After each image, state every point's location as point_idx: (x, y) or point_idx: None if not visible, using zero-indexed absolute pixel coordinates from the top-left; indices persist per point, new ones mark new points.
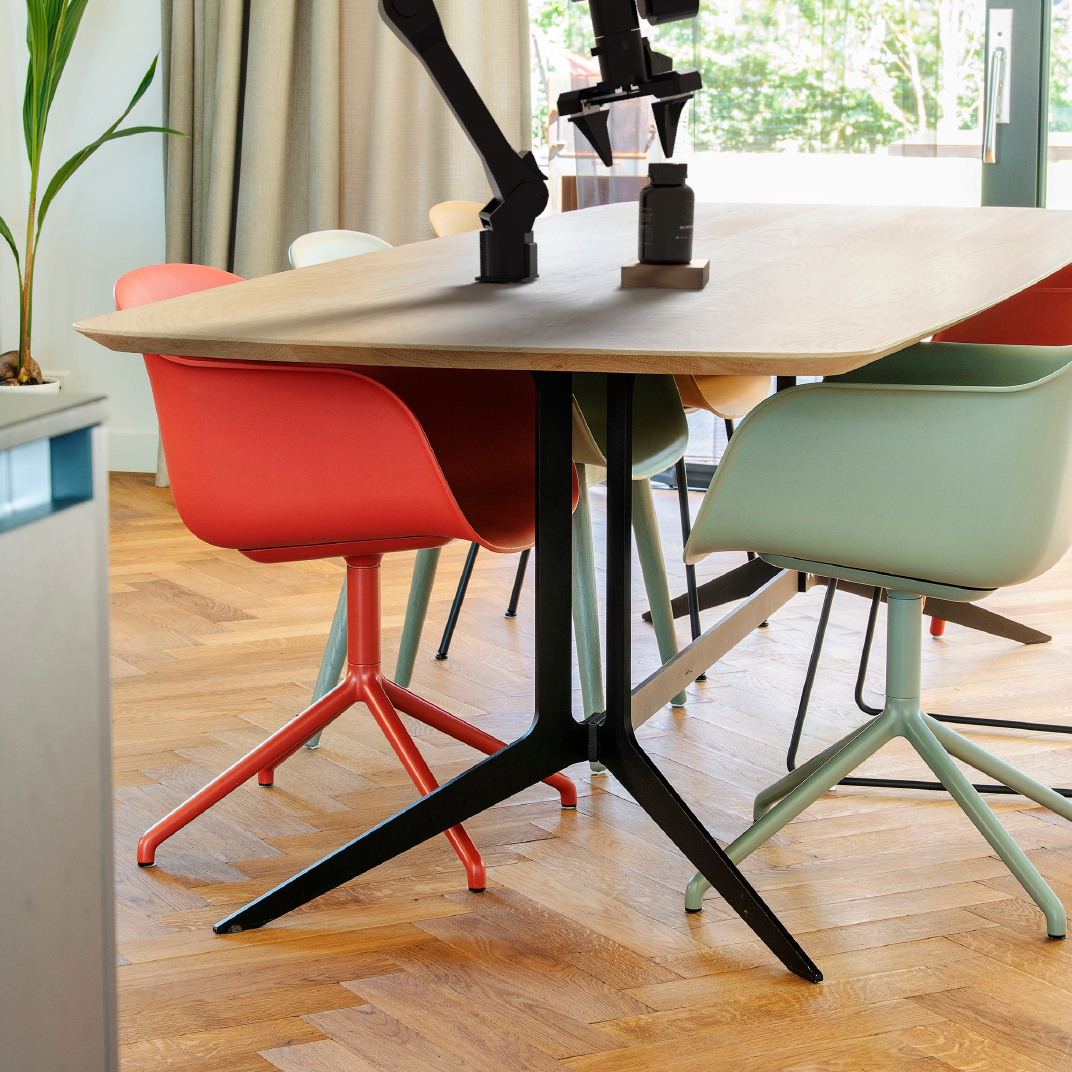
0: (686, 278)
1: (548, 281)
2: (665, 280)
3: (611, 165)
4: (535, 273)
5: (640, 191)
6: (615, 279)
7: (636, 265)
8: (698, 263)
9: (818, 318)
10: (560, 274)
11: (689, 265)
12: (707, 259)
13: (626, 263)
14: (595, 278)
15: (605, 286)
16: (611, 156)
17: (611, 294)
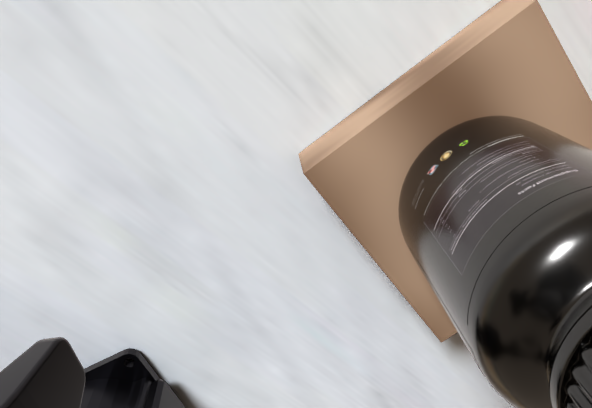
0: None
1: (195, 356)
2: None
3: (68, 350)
4: (172, 393)
5: (514, 406)
6: (285, 206)
7: None
8: (577, 135)
9: None
10: (69, 238)
11: None
12: (532, 10)
13: (401, 286)
14: (225, 230)
15: (380, 321)
16: (37, 392)
17: (490, 396)
